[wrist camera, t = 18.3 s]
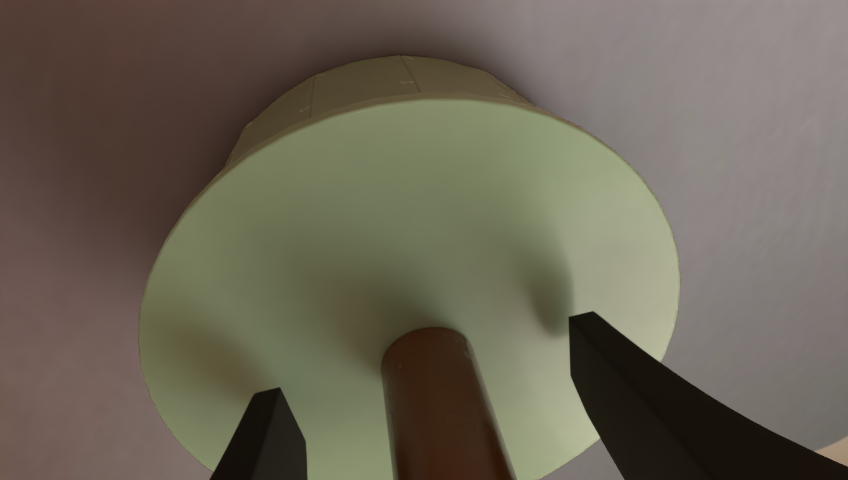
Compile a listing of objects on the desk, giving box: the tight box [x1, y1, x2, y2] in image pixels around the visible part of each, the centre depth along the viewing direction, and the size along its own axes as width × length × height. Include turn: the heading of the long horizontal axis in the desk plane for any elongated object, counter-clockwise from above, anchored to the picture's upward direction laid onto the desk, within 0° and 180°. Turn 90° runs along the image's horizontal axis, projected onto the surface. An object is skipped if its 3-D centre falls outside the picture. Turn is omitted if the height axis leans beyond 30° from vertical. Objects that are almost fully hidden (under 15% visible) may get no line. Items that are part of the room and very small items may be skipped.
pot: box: [222, 55, 537, 170], centre depth 16 cm, size 12×12×5 cm
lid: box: [138, 92, 681, 480], centre depth 12 cm, size 13×13×5 cm
